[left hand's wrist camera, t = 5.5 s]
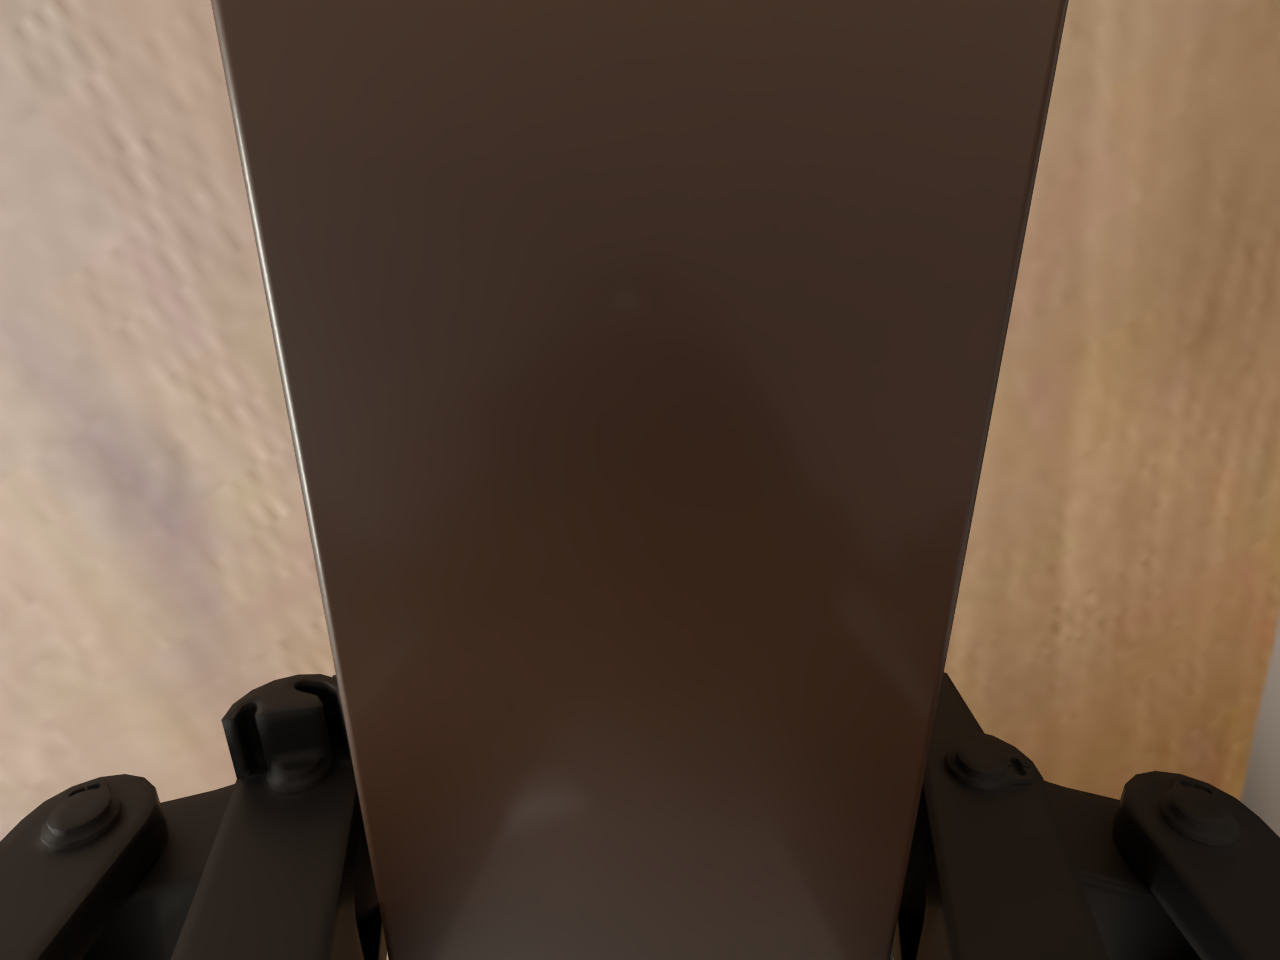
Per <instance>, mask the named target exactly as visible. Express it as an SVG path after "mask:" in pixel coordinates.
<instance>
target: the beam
mask: <svg viewBox="0 0 1280 960" xmlns="http://www.w3.org/2000/svg"><path fill="white" fill-rule="evenodd" d="M211 3H212V8H213V14H214V19H215V25H216V30H217V35H218V41H219V46H220V52H221V57H222V62H223V68H224V73H225V78H226V84H227V89H228V95H229V100H230V105H231V111H232V116H233V122H234V127H235V132H236V138H237V143H238V149H239V154H240V159H241V165H242V170H243V176H244V181H245V186H246V192H247V197H248V203H249V208H250V213H251V219H252V224H253V229H254V235H255V240H256V246H257V251H258V256H259V262H260V267H261V273H262V278H263V283H264V289H265V294H266V300H267V305H268V310H269V316H270V321H271V327H272V332H273V337H274V343H275V348H276V354H277V359H278V364H279V370H280V375H281V380H282V386H283V391H284V397H285V402H286V407H287V413H288V418H289V424H290V429H291V434H292V440H293V445H294V451H295V456H296V461H297V467H298V472H299V478H300V483H301V488H302V494H303V499H304V504H305V510H306V515H307V521H308V526H309V531H310V537H311V542H312V548H313V553H314V558H315V564H316V569H317V575H318V580H319V585H320V591H321V596H322V602H323V607H324V612H325V618H326V623H327V629H328V634H329V639H330V645H331V650H332V655H333V661H334V666H335V672H336V677H337V682H338V688H339V693H340V699H341V704H342V709H343V715H344V720H345V726H346V731H347V736H348V742H349V747H350V753H351V758H352V763H353V769H354V774H355V780H356V785H357V790H358V796H359V801H360V806H361V812H362V817H363V823H364V828H365V833H366V839H367V844H368V850H369V855H370V860H371V866H372V871H373V877H374V882H375V887H376V893H377V898H378V904H379V909H380V914H381V920H382V925H383V931H384V936H385V941H386V947H387V952H388V957H389V960H890V957H891V952H892V947H893V941H894V936H895V930H896V925H897V920H898V914H899V909H900V904H901V898H902V893H903V887H904V882H905V877H906V871H907V866H908V861H909V855H910V850H911V844H912V839H913V834H914V828H915V823H916V818H917V812H918V807H919V801H920V796H921V791H922V785H923V780H924V775H925V769H926V764H927V758H928V753H929V748H930V742H931V737H932V732H933V726H934V721H935V715H936V710H937V705H938V699H939V694H940V689H941V683H942V678H943V672H944V667H945V662H946V656H947V651H948V646H949V640H950V635H951V629H952V624H953V619H954V613H955V608H956V603H957V597H958V592H959V586H960V581H961V576H962V570H963V565H964V559H965V554H966V549H967V543H968V538H969V533H970V527H971V522H972V516H973V511H974V506H975V500H976V495H977V490H978V484H979V479H980V473H981V468H982V463H983V457H984V452H985V447H986V441H987V436H988V430H989V425H990V420H991V414H992V409H993V404H994V398H995V393H996V387H997V382H998V377H999V371H1000V366H1001V361H1002V355H1003V350H1004V344H1005V339H1006V334H1007V328H1008V323H1009V318H1010V312H1011V307H1012V301H1013V296H1014V291H1015V285H1016V280H1017V275H1018V269H1019V264H1020V258H1021V253H1022V248H1023V242H1024V237H1025V231H1026V226H1027V221H1028V215H1029V210H1030V205H1031V199H1032V194H1033V188H1034V183H1035V178H1036V172H1037V167H1038V162H1039V156H1040V151H1041V145H1042V140H1043V135H1044V129H1045V124H1046V119H1047V113H1048V108H1049V102H1050V97H1051V92H1052V86H1053V81H1054V76H1055V70H1056V65H1057V59H1058V54H1059V49H1060V43H1061V38H1062V33H1063V27H1064V22H1065V16H1066V11H1067V6H1068V0H211Z"/></svg>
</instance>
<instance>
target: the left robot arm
mask: <svg viewBox="0 0 1280 960" xmlns="http://www.w3.org/2000/svg"><path fill="white" fill-rule="evenodd" d="M222 724H223V727H224V731H225V735H226V739H227V743H228V746H229V750H230V754H231V758H232V761H233V765H234V769H235V773H236V777H237V781H236V784H233V785H230V786H227V787H224V788H220V789H217V790H214V791H210V792H205V793H201V794H197V795H193V796H188V797H184V798H180V799H175V800H171V801H167V802H163V803H160V801H159V798H158V795H157V792H156V788H155V787H154V786H153V785H152V784H151V783H150V782H149V781H147V780H146V779H145V778H144V777H138V776H133V775H127V774H122V775H114V776H106V777H99V778H96V779H93V780H90V781H87V782H84V783H81V784H79V785H76V786H73V787H70V788H69V789H67V790H65V791H63V792H61V793H59V794H58V795H56V796H54V797H52V798H50V799H48V800H47V801H45V802H43V803H42V804H41V805H40V806H38V807H37V808H36V809H35V810H34V811H32V812H31V813H30V814H29V815H27V816H26V817H25V818H24V819H22V820H21V821H20V822H19V823H18V824H17V825H16V826H15V827H14V828H13V829H12V830H11V831H10V832H9V833H8V834H7V835H6V837H5V838H4V839H3V840H2V841H1V842H0V960H386V956H387V947H386V941H385V936H384V931H383V925H382V920H381V914H380V909H379V904H378V898H377V893H376V887H375V882H374V877H373V871H372V866H371V860H370V855H369V850H368V844H367V839H366V833H365V828H364V823H363V817H362V812H361V806H360V801H359V796H358V790H357V785H356V780H355V774H354V769H353V763H352V758H351V753H350V747H349V742H348V736H347V731H346V726H345V720H344V715H343V709H342V704H341V699H340V693H339V688H338V682H337V677H336V675H333V677H329V676H325V675H322V674H306V675H295V676H291V677H286V678H282V679H278V680H274V681H272V682H270V683H267V684H265V685H263V686H261V687H258V688H256V689H254V690H252V691H250V692H249V693H248V694H246V695H245V696H244V697H242V698H241V699H240V700H238V701H237V702H235V703H234V704H233V705H232V706H231V708H230V709H229V710H228V712H227V713H226V715H225V716H224V717H223V719H222ZM893 956H894V960H1280V838H1279V837H1278V836H1277V835H1276V833H1274V831H1273V830H1271V828H1270V827H1269V826H1268V825H1267V824H1266V823H1265V822H1264V821H1263V820H1262V819H1261V818H1260V817H1259V816H1257V815H1256V814H1255V813H1254V812H1252V811H1251V810H1250V809H1249V808H1247V807H1246V806H1245V805H1244V804H1242V803H1241V802H1240V801H1239V800H1237V799H1236V798H1234V797H1233V796H1231V795H1229V794H1227V793H1225V792H1223V791H1221V790H1220V789H1218V788H1216V787H1214V786H1212V785H1210V784H1208V783H1205V782H1202V781H1199V780H1196V779H1193V778H1191V777H1188V776H1185V775H1182V774H1175V773H1167V772H1159V771H1153V772H1147V773H1142V774H1136V775H1135V776H1134V777H1133V778H1132V779H1131V780H1129V781H1128V782H1127V783H1126V784H1125V786H1124V790H1123V793H1122V796H1121V799H1120V800H1117V799H1113V798H1109V797H1105V796H1100V795H1096V794H1092V793H1087V792H1083V791H1079V790H1074V789H1070V788H1066V787H1063V786H1059V785H1056V784H1053V783H1050V782H1046V781H1044V780H1043V777H1042V776H1041V774H1040V773H1039V771H1038V770H1037V768H1036V766H1035V765H1034V763H1033V762H1032V761H1031V760H1030V759H1029V758H1028V757H1026V756H1025V755H1024V754H1023V753H1022V752H1020V751H1019V750H1018V749H1017V748H1016V747H1014V746H1012V745H1010V744H1008V743H1006V742H1004V741H1002V740H1000V739H998V738H996V737H994V736H992V735H988V734H984V732H983V730H982V729H981V727H980V726H979V724H978V722H977V721H976V719H975V718H974V716H973V714H972V713H971V711H970V710H969V708H968V706H967V705H966V703H965V702H964V700H963V698H962V697H961V695H960V694H959V692H958V690H957V689H956V687H955V686H954V684H953V682H952V681H951V679H950V678H949V676H948V674H947V673H944V672H943V678H942V683H941V689H940V694H939V699H938V705H937V710H936V715H935V721H934V726H933V732H932V737H931V742H930V748H929V753H928V758H927V764H926V769H925V775H924V780H923V785H922V791H921V796H920V801H919V807H918V812H917V818H916V823H915V828H914V834H913V839H912V844H911V850H910V855H909V861H908V866H907V871H906V877H905V882H904V887H903V893H902V898H901V904H900V909H899V914H898V920H897V925H896V930H895V936H894V941H893V947H892V952H891V957H890V960H893Z"/></svg>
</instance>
